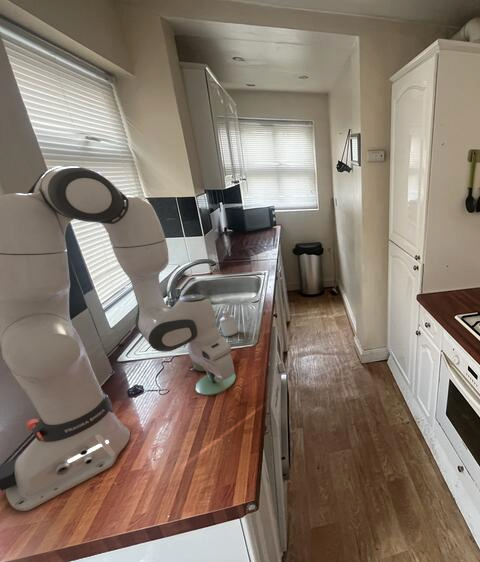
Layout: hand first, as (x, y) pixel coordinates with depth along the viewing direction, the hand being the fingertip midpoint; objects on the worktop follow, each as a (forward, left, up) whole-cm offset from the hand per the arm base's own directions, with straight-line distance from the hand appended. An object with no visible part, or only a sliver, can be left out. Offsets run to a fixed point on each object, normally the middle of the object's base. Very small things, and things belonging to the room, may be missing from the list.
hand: (215, 378), depth 101 cm
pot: (+5, +13, -2) cm, 14 cm away
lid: (0, 0, -2) cm, 2 cm away
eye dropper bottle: (+21, +25, -2) cm, 33 cm away
